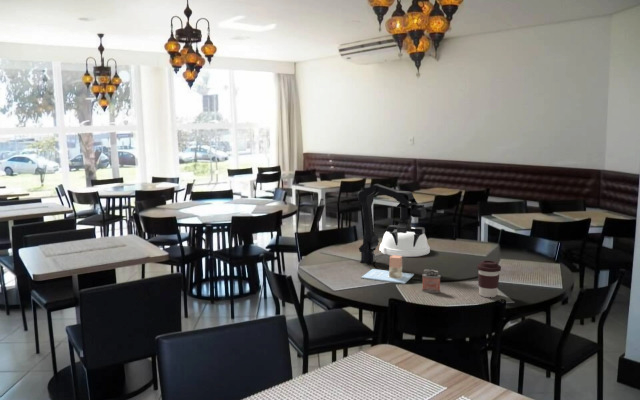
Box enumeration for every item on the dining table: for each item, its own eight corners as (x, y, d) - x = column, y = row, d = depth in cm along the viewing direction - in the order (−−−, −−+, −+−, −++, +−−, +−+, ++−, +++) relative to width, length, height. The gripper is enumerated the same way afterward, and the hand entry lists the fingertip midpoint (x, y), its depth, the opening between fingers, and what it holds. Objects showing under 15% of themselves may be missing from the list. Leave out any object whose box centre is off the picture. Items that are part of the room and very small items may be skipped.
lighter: (440, 291, 236) (441, 269, 234) (439, 293, 233) (440, 271, 231) (422, 289, 239) (423, 268, 237) (421, 291, 235) (421, 270, 234)
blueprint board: (361, 278, 256) (361, 276, 256) (372, 270, 271) (372, 268, 271) (404, 283, 247) (404, 282, 247) (413, 275, 261) (414, 273, 261)
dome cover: (407, 242, 334) (408, 221, 332) (441, 252, 309) (442, 228, 307) (367, 249, 317) (368, 226, 315) (400, 259, 292) (400, 235, 290)
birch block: (389, 277, 256) (389, 267, 255) (392, 274, 260) (392, 264, 260) (399, 278, 254) (399, 268, 253) (402, 275, 258) (402, 265, 258)
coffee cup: (472, 292, 234) (473, 259, 232) (494, 291, 235) (495, 258, 233) (481, 299, 224) (482, 265, 222) (503, 298, 225) (505, 264, 223)
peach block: (389, 267, 255) (389, 257, 254) (392, 264, 260) (392, 254, 259) (399, 268, 253) (399, 258, 252) (402, 265, 258) (402, 255, 257)
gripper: (383, 217, 264) (383, 247, 266) (419, 220, 256) (419, 251, 258) (390, 214, 274) (389, 243, 276) (425, 216, 266) (424, 246, 268)
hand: (405, 246), depth 270 cm, fingers open, 9 cm apart
